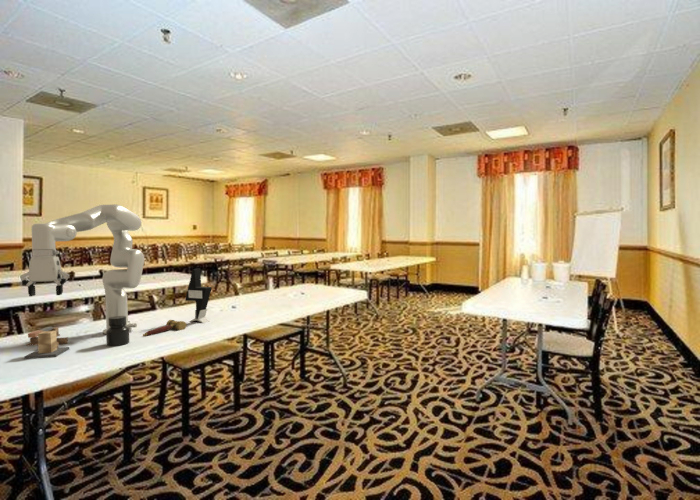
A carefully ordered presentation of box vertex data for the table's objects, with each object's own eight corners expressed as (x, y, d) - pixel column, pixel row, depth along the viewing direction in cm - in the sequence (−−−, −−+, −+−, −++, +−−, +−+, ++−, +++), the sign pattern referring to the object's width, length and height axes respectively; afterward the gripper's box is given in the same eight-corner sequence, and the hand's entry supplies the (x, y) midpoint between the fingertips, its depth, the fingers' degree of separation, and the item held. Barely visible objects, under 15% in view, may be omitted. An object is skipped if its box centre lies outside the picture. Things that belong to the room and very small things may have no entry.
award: (185, 321, 222) (184, 268, 221) (192, 319, 227) (191, 268, 226) (206, 323, 216) (205, 269, 216) (212, 321, 221) (211, 268, 220)
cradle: (67, 342, 178) (67, 337, 178) (56, 348, 169) (56, 342, 169) (50, 343, 177) (50, 338, 177) (38, 349, 168) (38, 343, 167)
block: (56, 349, 164) (56, 330, 164) (51, 352, 159) (50, 333, 159) (44, 350, 163) (43, 331, 163) (38, 353, 158) (37, 333, 158)
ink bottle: (132, 340, 181) (131, 314, 181) (128, 345, 173) (127, 318, 173) (108, 342, 178) (107, 316, 178) (103, 347, 170) (102, 320, 170)
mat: (69, 349, 168) (69, 346, 168) (55, 356, 157) (55, 354, 157) (40, 351, 165) (39, 348, 165) (24, 358, 155) (24, 356, 155)
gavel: (149, 331, 186) (136, 329, 190) (149, 341, 186) (136, 338, 191) (186, 320, 204) (173, 318, 209) (186, 329, 204) (174, 327, 209)
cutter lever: (53, 329, 189) (53, 325, 189) (35, 337, 174) (35, 333, 174) (46, 329, 188) (46, 326, 188) (28, 337, 174) (28, 333, 174)
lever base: (59, 335, 193) (59, 327, 193) (39, 344, 175) (38, 336, 175) (48, 335, 192) (48, 327, 192) (26, 345, 174) (26, 336, 174)
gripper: (72, 253, 165) (73, 293, 166) (25, 253, 162) (27, 295, 162) (63, 253, 158) (65, 295, 159) (14, 254, 154) (15, 297, 155)
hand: (45, 295), depth 160 cm, fingers open, 9 cm apart
